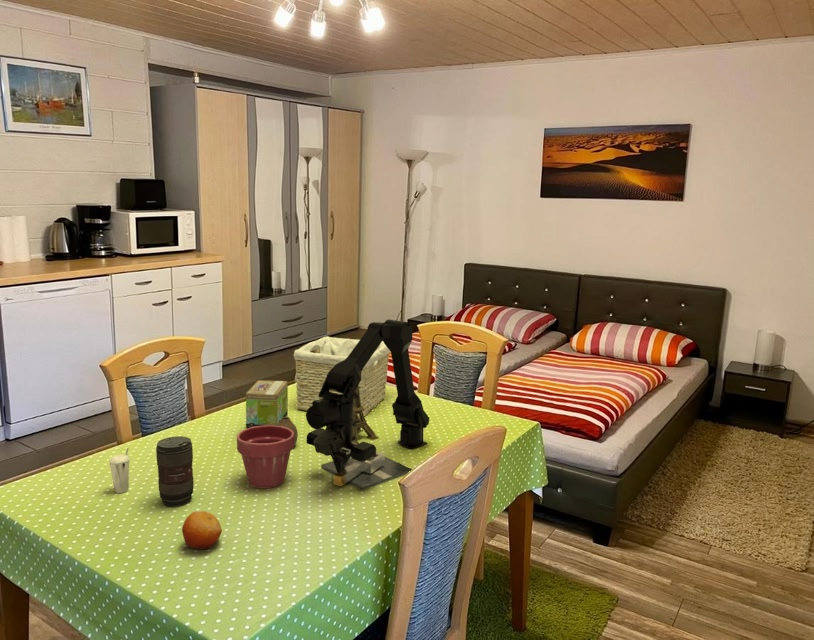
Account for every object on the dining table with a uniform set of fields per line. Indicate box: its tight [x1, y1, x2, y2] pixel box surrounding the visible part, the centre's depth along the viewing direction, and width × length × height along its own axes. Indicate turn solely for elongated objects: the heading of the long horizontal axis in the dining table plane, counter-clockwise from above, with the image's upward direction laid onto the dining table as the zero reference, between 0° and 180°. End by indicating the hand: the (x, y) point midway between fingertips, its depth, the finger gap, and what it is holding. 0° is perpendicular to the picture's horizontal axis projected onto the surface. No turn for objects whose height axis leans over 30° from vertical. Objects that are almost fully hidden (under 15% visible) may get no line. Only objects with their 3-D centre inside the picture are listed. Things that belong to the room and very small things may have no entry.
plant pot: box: [236, 425, 295, 489], centre depth 167 cm, size 14×14×13 cm
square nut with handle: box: [333, 451, 386, 487], centre depth 171 cm, size 17×7×3 cm, turn 152°
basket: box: [293, 336, 391, 418], centre depth 228 cm, size 27×27×22 cm
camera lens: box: [155, 435, 195, 508], centre depth 155 cm, size 8×8×15 cm
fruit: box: [181, 510, 223, 551], centre depth 136 cm, size 8×8×8 cm
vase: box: [277, 416, 299, 446], centre depth 190 cm, size 7×7×9 cm
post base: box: [320, 456, 413, 491], centre depth 175 cm, size 17×18×6 cm
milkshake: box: [108, 447, 130, 494], centre depth 160 cm, size 4×5×10 cm
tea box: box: [245, 380, 289, 429], centre depth 201 cm, size 15×10×15 cm
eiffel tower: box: [352, 385, 380, 445], centre depth 196 cm, size 11×11×25 cm
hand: (339, 475), depth 168 cm, fingers closed
